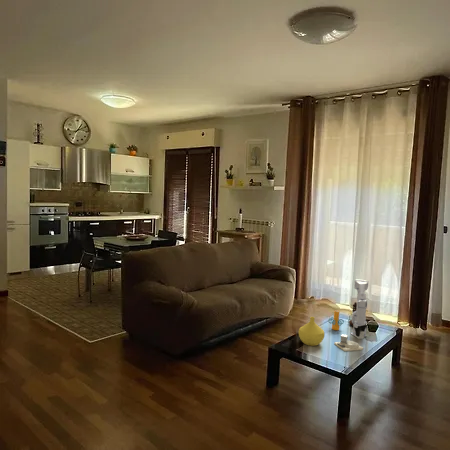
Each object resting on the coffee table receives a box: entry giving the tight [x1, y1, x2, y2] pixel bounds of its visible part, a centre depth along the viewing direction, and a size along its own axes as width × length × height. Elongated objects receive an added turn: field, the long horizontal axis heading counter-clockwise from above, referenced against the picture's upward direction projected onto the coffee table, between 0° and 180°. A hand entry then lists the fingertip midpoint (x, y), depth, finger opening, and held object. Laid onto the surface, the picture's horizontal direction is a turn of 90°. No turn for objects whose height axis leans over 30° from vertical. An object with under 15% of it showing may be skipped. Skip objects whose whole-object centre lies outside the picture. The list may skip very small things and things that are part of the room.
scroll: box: [348, 301, 357, 326], centre depth 321 cm, size 15×15×20 cm
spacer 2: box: [356, 330, 365, 339], centre depth 275 cm, size 4×4×5 cm
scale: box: [333, 339, 364, 352], centre depth 276 cm, size 15×13×2 cm
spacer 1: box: [339, 333, 349, 344], centre depth 278 cm, size 4×4×5 cm
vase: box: [298, 316, 325, 347], centre depth 278 cm, size 18×18×19 cm
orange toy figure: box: [327, 309, 345, 331], centre depth 311 cm, size 12×10×15 cm
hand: (359, 335), depth 275 cm, fingers closed on spacer 2, 5 cm apart
